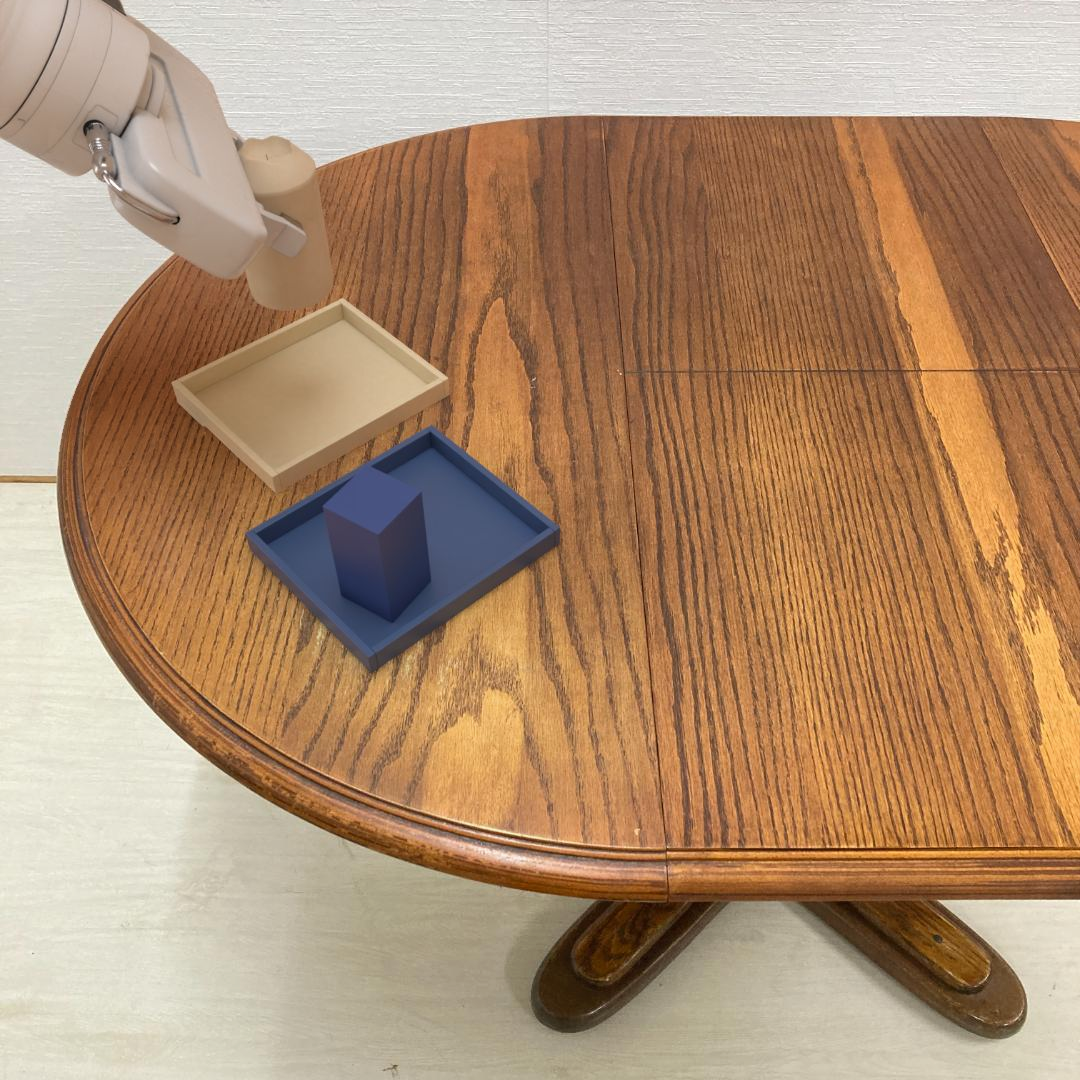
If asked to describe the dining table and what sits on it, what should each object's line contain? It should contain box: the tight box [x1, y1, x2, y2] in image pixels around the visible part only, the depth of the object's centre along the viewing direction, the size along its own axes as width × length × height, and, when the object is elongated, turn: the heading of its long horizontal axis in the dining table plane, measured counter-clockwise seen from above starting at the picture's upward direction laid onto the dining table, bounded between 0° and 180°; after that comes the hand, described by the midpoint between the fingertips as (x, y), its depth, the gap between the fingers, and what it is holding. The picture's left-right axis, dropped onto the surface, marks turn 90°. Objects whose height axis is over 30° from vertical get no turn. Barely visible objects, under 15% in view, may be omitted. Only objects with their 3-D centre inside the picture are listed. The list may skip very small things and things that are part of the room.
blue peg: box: [323, 465, 431, 623], centre depth 66 cm, size 4×4×8 cm
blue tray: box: [244, 424, 561, 674], centre depth 70 cm, size 15×13×2 cm
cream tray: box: [171, 297, 451, 494], centre depth 80 cm, size 15×13×2 cm
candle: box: [238, 135, 334, 312], centre depth 70 cm, size 6×6×10 cm
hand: (287, 213), depth 69 cm, fingers closed on candle, 5 cm apart
